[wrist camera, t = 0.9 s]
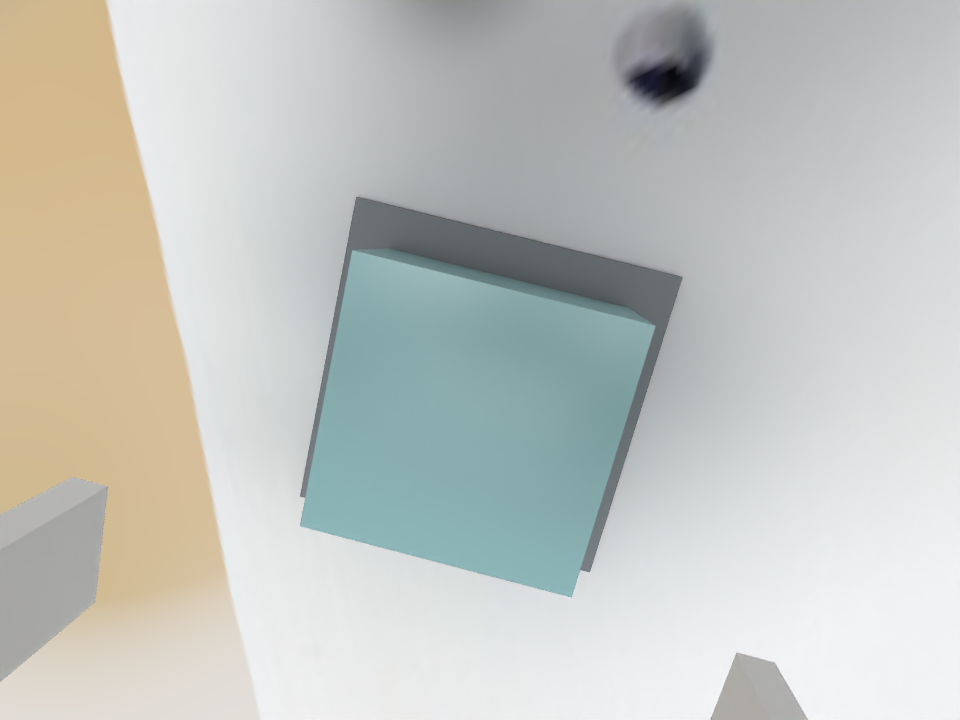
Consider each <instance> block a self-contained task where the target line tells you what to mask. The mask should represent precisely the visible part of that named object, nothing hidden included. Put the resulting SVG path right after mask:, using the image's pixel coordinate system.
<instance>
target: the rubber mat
mask: <svg viewBox="0 0 960 720" xmlns="http://www.w3.org/2000/svg"><path fill="white" fill-rule="evenodd" d="M380 248H390V249H394V250H398V251H402V252H406V253H410V254H414V255H418V256H422V257H426V258H430V259H434V260H438V261H442V262H446V263H450V264H454V265H458V266H462V267H467V268H471V269H475V270H479V271H483V272H487V273H491V274H495V275H499V276H503V277H507V278H511V279H515V280H519V281H523V282H527V283H531V284H535V285H539V286H543V287H547V288H551V289H555V290H559V291H563V292H567V293H571V294H575V295H579V296H583V297H587V298H591V299H595V300H599V301H603V302H607V303H611V304H615V305H619V306H623V307H628V308H630V309H631V310H633V311H634V312H636V313H637V314H639V315H640V316H642V317H643V318H645V319H646V320H648V321H649V322H651V323H652V324H654V325H655V329H654V333H653V336H652V339H651V342H650V346H649V349H648V352H647V355H646V359H645V362H644V365H643V368H642V371H641V375H640V378H639V381H638V384H637V388H636V391H635V394H634V397H633V401H632V404H631V407H630V410H629V413H628V417H627V420H626V423H625V426H624V430H623V433H622V436H621V439H620V443H619V446H618V449H617V452H616V455H615V459H614V462H613V465H612V468H611V472H610V475H609V478H608V481H607V484H606V488H605V491H604V494H603V497H602V501H601V504H600V507H599V510H598V514H597V517H596V520H595V523H594V526H593V530H592V533H591V536H590V539H589V543H588V546H587V549H586V552H585V556H584V559H583V562H582V565H581V568H580V570H583V571H587V572H590V570H591V567H592V564H593V560H594V557H595V554H596V551H597V548H598V544H599V541H600V538H601V535H602V532H603V529H604V525H605V522H606V519H607V516H608V513H609V509H610V506H611V503H612V500H613V497H614V494H615V490H616V487H617V484H618V481H619V478H620V474H621V471H622V468H623V465H624V462H625V458H626V455H627V452H628V449H629V446H630V443H631V439H632V436H633V433H634V430H635V427H636V423H637V420H638V417H639V414H640V411H641V408H642V404H643V401H644V398H645V395H646V392H647V388H648V385H649V382H650V379H651V376H652V372H653V369H654V366H655V363H656V360H657V357H658V353H659V350H660V347H661V344H662V341H663V337H664V334H665V331H666V328H667V325H668V322H669V318H670V315H671V312H672V309H673V306H674V302H675V299H676V296H677V293H678V290H679V287H680V283H681V280H682V277H680V276H676V275H672V274H668V273H663V272H659V271H655V270H651V269H647V268H643V267H639V266H635V265H631V264H627V263H623V262H619V261H615V260H611V259H607V258H603V257H599V256H594V255H590V254H586V253H582V252H578V251H574V250H570V249H566V248H562V247H558V246H554V245H550V244H546V243H542V242H538V241H534V240H530V239H525V238H521V237H517V236H513V235H509V234H505V233H501V232H497V231H493V230H489V229H485V228H481V227H477V226H473V225H469V224H465V223H461V222H456V221H452V220H448V219H444V218H440V217H436V216H432V215H428V214H424V213H420V212H416V211H412V210H408V209H404V208H400V207H396V206H392V205H387V204H383V203H379V202H375V201H371V200H367V199H363V198H359V197H356V201H355V206H354V211H353V217H352V222H351V227H350V233H349V238H348V243H347V249H346V254H345V259H344V265H343V270H342V275H341V281H340V286H339V291H338V297H337V302H336V307H335V313H334V318H333V324H332V329H331V334H330V340H329V345H328V350H327V356H326V361H325V366H324V372H323V377H322V382H321V388H320V393H319V398H318V404H317V409H316V414H315V420H314V425H313V430H312V436H311V441H310V446H309V452H308V457H307V462H306V468H305V473H304V478H303V484H302V489H301V494H300V497H304V498H305V497H306V492H307V486H308V481H309V476H310V471H311V465H312V460H313V455H314V450H315V444H316V439H317V434H318V428H319V423H320V418H321V413H322V407H323V402H324V397H325V391H326V386H327V381H328V376H329V370H330V365H331V360H332V354H333V349H334V344H335V339H336V333H337V328H338V323H339V318H340V312H341V307H342V302H343V296H344V291H345V286H346V281H347V275H348V270H349V265H350V259H351V254H352V250H364V249H380Z"/></svg>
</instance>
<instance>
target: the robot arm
mask: <svg viewBox="0 0 960 720" xmlns="http://www.w3.org/2000/svg"><path fill="white" fill-rule="evenodd" d="M107 489H108V486H105V485H101V484H97V483H93V482H89V481H86V480H82V479H78V478H74V477H71V478H69V479H68V480H66V481H64V482H62V483H60V484H58V485H56V486H54V487H52V488H50V489H48V490H46V491H45V492H43V493H41V494H39V495H37V496H35V497H33V498H31V499H29V500H27V501H26V502H24V503H22V504H20V505H18V506H16V507H14V508H12V509H10V510H8V511H6V512H5V513H3V514H1V515H0V682H1V681H2V680H3V679H4V678H6V677H7V676H8V675H9V674H10V673H11V672H13V671H14V670H15V669H16V668H17V667H19V666H20V665H21V664H22V663H23V662H25V661H26V660H27V659H28V658H29V657H31V656H32V655H33V654H34V653H35V652H36V651H38V650H39V649H40V648H41V647H42V646H43V645H45V644H46V643H47V642H48V641H50V640H51V639H52V638H53V637H54V636H56V635H57V634H58V633H59V632H60V631H61V630H63V629H64V628H65V627H66V626H67V625H69V624H70V623H71V622H72V621H73V620H75V619H76V618H77V617H78V616H79V615H80V614H82V613H83V612H84V611H85V610H86V609H88V608H89V607H90V606H91V605H92V604H94V603H95V599H96V590H97V589H96V588H97V580H98V572H99V562H100V554H101V553H100V552H101V544H102V535H103V525H104V516H105V508H106V498H107ZM711 720H808V719H807V717H806V716H805V714H804V712H803V710H802V709H801V707H800V705H799V704H798V702H797V700H796V698H795V697H794V695H793V693H792V692H791V690H790V688H789V686H788V685H787V683H786V681H785V680H784V678H783V676H782V674H781V673H780V671H779V669H778V668H777V666H776V664H775V663H774V662H770V661H767V660H763V659H759V658H755V657H751V656H748V655H744V654H740V653H736V656H735V658H734V661H733V663H732V666H731V668H730V671H729V674H728V676H727V679H726V681H725V684H724V686H723V689H722V692H721V694H720V697H719V699H718V702H717V704H716V707H715V710H714V712H713V715H712V717H711Z"/></svg>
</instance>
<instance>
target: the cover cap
mask: <svg viewBox="0 0 960 720" xmlns="http://www.w3.org/2000/svg"><path fill="white" fill-rule="evenodd" d="M654 329H655V325H654V324H652V323H651V322H649V321H648V320H646V319H645V318H643V317H642V316H640V315H639V314H637V313H636V312H634V311H633V310H631V309H630V308H628V307H623V306H619V305H615V304H611V303H607V302H603V301H599V300H595V299H591V298H587V297H583V296H579V295H575V294H571V293H567V292H563V291H559V290H555V289H551V288H547V287H543V286H539V285H535V284H531V283H527V282H523V281H519V280H515V279H511V278H507V277H503V276H499V275H495V274H491V273H487V272H483V271H479V270H475V269H471V268H467V267H462V266H458V265H454V264H450V263H446V262H442V261H438V260H434V259H430V258H426V257H422V256H418V255H414V254H410V253H406V252H402V251H398V250H394V249H390V248H380V249H364V250H352V254H351V259H350V265H349V270H348V275H347V281H346V286H345V291H344V296H343V302H342V307H341V312H340V318H339V323H338V328H337V333H336V339H335V344H334V349H333V354H332V360H331V365H330V370H329V376H328V381H327V386H326V391H325V397H324V402H323V407H322V413H321V418H320V423H319V428H318V434H317V439H316V444H315V450H314V455H313V460H312V465H311V471H310V476H309V481H308V486H307V492H306V497H305V502H304V508H303V513H302V518H301V523H300V526H302V527H306V528H310V529H313V530H317V531H321V532H325V533H329V534H332V535H336V536H340V537H344V538H348V539H351V540H355V541H359V542H363V543H367V544H370V545H374V546H378V547H382V548H386V549H389V550H393V551H397V552H401V553H405V554H408V555H412V556H416V557H420V558H424V559H427V560H431V561H435V562H439V563H443V564H446V565H450V566H454V567H458V568H462V569H466V570H469V571H473V572H477V573H481V574H485V575H488V576H492V577H496V578H500V579H504V580H507V581H511V582H515V583H519V584H523V585H526V586H530V587H534V588H538V589H542V590H545V591H549V592H553V593H557V594H561V595H564V596H568V597H572V594H573V591H574V588H575V585H576V581H577V578H578V575H579V572H580V568H581V565H582V562H583V559H584V556H585V552H586V549H587V546H588V543H589V539H590V536H591V533H592V530H593V526H594V523H595V520H596V517H597V514H598V510H599V507H600V504H601V501H602V497H603V494H604V491H605V488H606V484H607V481H608V478H609V475H610V472H611V468H612V465H613V462H614V459H615V455H616V452H617V449H618V446H619V443H620V439H621V436H622V433H623V430H624V426H625V423H626V420H627V417H628V413H629V410H630V407H631V404H632V401H633V397H634V394H635V391H636V388H637V384H638V381H639V378H640V375H641V371H642V368H643V365H644V362H645V359H646V355H647V352H648V349H649V346H650V342H651V339H652V336H653V333H654Z"/></svg>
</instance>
